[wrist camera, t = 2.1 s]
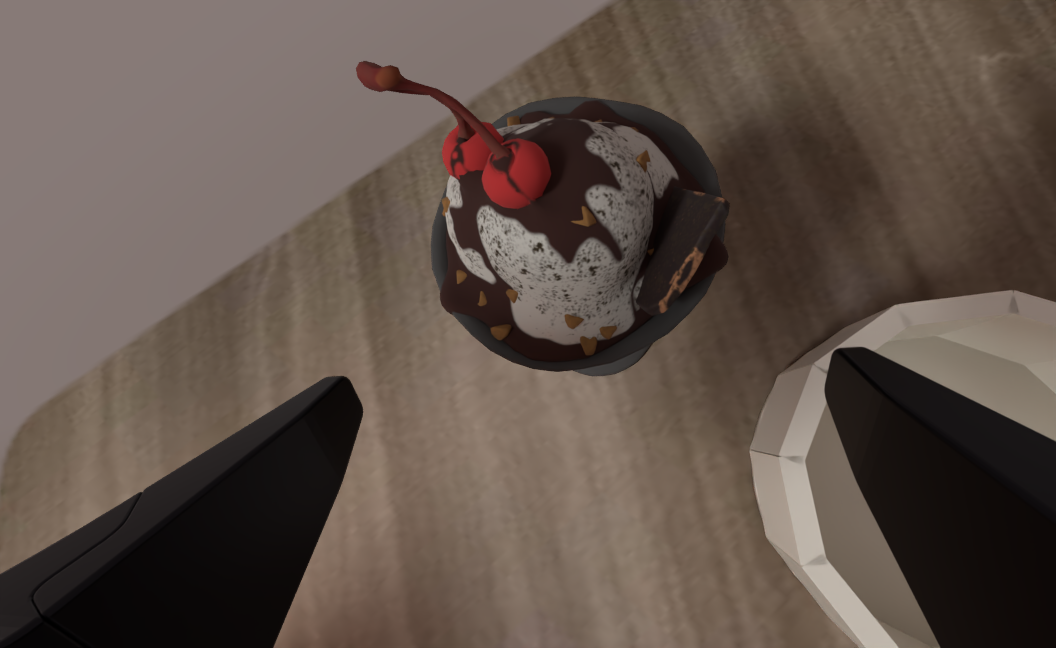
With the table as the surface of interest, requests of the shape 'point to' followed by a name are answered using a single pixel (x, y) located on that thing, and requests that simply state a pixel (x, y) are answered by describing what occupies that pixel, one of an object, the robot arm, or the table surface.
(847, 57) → the table surface
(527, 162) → the sundae
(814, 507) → the white faceted bowl
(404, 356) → the table surface
